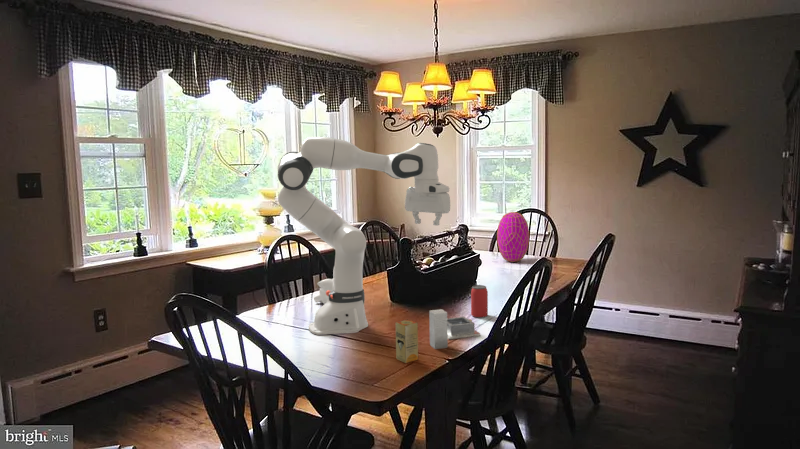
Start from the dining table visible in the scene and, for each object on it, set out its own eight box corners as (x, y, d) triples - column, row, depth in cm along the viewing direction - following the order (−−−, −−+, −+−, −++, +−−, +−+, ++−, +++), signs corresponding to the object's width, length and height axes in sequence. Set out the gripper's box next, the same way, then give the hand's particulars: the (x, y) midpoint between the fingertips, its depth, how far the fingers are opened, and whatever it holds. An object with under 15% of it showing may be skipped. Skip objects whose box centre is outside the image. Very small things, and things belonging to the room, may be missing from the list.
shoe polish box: (408, 355, 183) (407, 319, 182) (418, 359, 179) (417, 322, 178) (396, 358, 180) (395, 322, 179) (405, 363, 176) (405, 325, 175)
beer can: (475, 318, 223) (474, 289, 221) (468, 314, 229) (468, 285, 228) (490, 317, 224) (490, 287, 223) (483, 313, 231) (483, 284, 229)
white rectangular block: (434, 349, 189) (434, 314, 187) (429, 344, 193) (429, 310, 192) (447, 347, 190) (447, 312, 189) (442, 343, 195) (441, 309, 193)
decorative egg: (527, 258, 350) (527, 210, 347) (530, 264, 331) (531, 213, 328) (496, 258, 353) (496, 210, 349) (497, 264, 334) (497, 214, 330)
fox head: (321, 282, 262) (298, 288, 243) (351, 271, 256) (329, 276, 237) (330, 309, 261) (308, 318, 242) (361, 299, 255) (340, 307, 236)
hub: (449, 339, 198) (449, 327, 197) (436, 329, 209) (436, 318, 209) (480, 335, 202) (480, 323, 201) (466, 326, 213) (465, 315, 212)
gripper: (400, 187, 214) (401, 223, 216) (441, 188, 200) (441, 227, 201) (412, 186, 219) (413, 221, 220) (452, 187, 204) (453, 225, 206)
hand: (427, 224), depth 211 cm, fingers open, 8 cm apart
